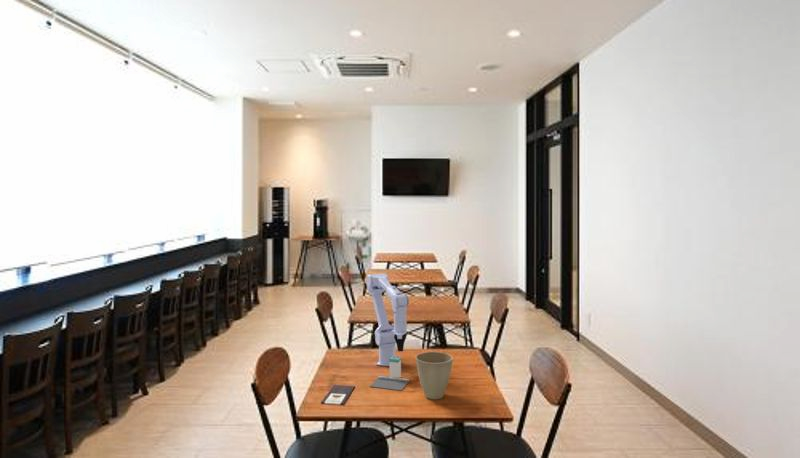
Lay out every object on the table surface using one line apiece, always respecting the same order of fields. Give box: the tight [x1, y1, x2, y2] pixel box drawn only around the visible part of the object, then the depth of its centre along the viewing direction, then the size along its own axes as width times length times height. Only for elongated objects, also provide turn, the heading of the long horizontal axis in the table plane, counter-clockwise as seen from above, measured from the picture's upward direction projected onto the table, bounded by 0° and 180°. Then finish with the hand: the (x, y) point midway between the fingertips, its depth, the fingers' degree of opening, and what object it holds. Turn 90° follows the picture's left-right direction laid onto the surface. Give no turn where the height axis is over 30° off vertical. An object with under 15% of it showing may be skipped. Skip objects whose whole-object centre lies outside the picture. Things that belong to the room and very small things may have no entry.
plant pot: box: [415, 351, 454, 400], centre depth 197 cm, size 15×15×16 cm
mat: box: [369, 379, 409, 392], centre depth 209 cm, size 9×14×1 cm, turn 73°
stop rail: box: [376, 375, 410, 383], centre depth 214 cm, size 2×14×1 cm, turn 73°
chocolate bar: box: [320, 384, 355, 406], centre depth 198 cm, size 9×1×18 cm
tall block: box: [389, 356, 402, 378], centre depth 216 cm, size 4×4×9 cm
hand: (400, 350), depth 222 cm, fingers closed
